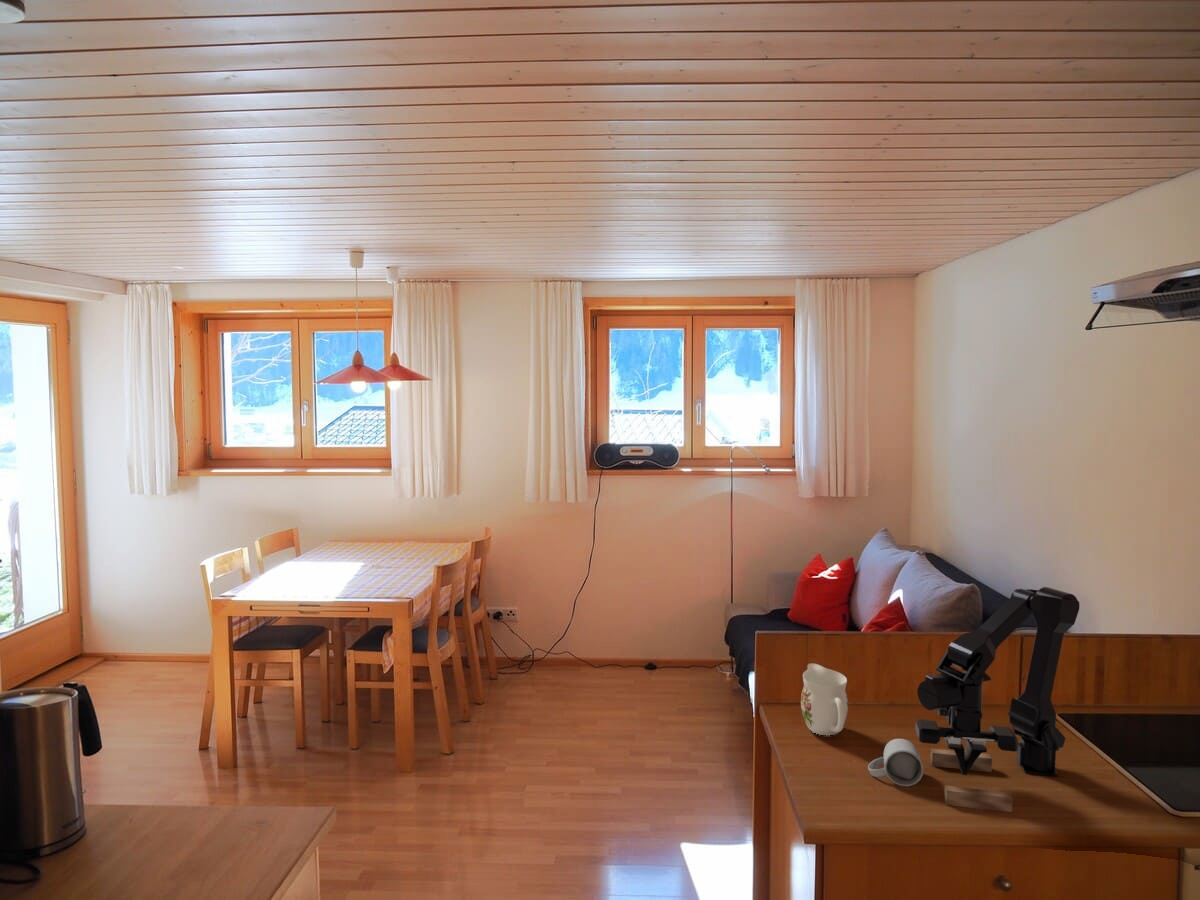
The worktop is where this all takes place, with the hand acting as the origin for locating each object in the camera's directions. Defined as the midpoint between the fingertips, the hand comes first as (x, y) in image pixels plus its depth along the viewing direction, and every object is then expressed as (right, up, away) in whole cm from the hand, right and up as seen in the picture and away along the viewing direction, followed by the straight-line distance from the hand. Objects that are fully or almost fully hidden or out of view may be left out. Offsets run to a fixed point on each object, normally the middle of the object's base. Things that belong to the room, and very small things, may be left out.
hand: (963, 774), depth 162 cm
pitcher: (-22, -1, +25) cm, 33 cm away
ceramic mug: (-13, -2, +4) cm, 14 cm away
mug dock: (+1, -2, 0) cm, 3 cm away
